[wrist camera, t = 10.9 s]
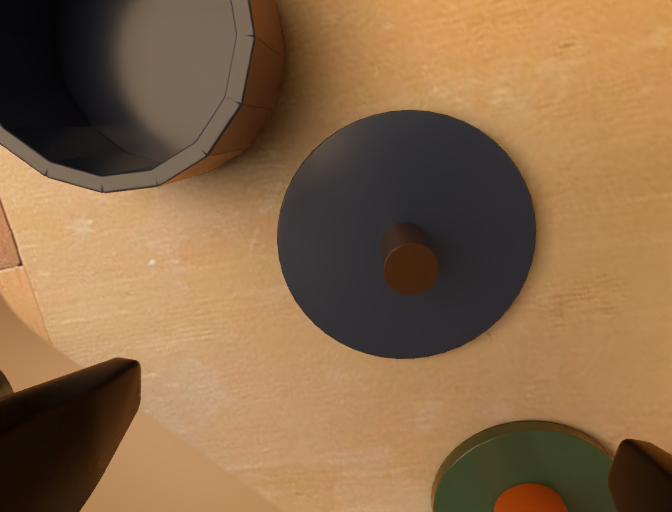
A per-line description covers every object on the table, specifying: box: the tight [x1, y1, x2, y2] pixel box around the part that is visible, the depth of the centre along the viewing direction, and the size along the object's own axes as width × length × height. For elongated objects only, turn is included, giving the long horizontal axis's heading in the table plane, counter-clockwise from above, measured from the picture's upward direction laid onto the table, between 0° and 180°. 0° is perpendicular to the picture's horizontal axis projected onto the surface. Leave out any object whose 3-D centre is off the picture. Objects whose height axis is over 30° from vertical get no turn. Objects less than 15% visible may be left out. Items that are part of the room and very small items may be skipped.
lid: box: [277, 110, 536, 359], centre depth 18 cm, size 11×11×5 cm
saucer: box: [431, 421, 617, 512], centre depth 24 cm, size 10×10×1 cm
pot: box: [0, 0, 285, 193], centre depth 16 cm, size 10×10×6 cm
